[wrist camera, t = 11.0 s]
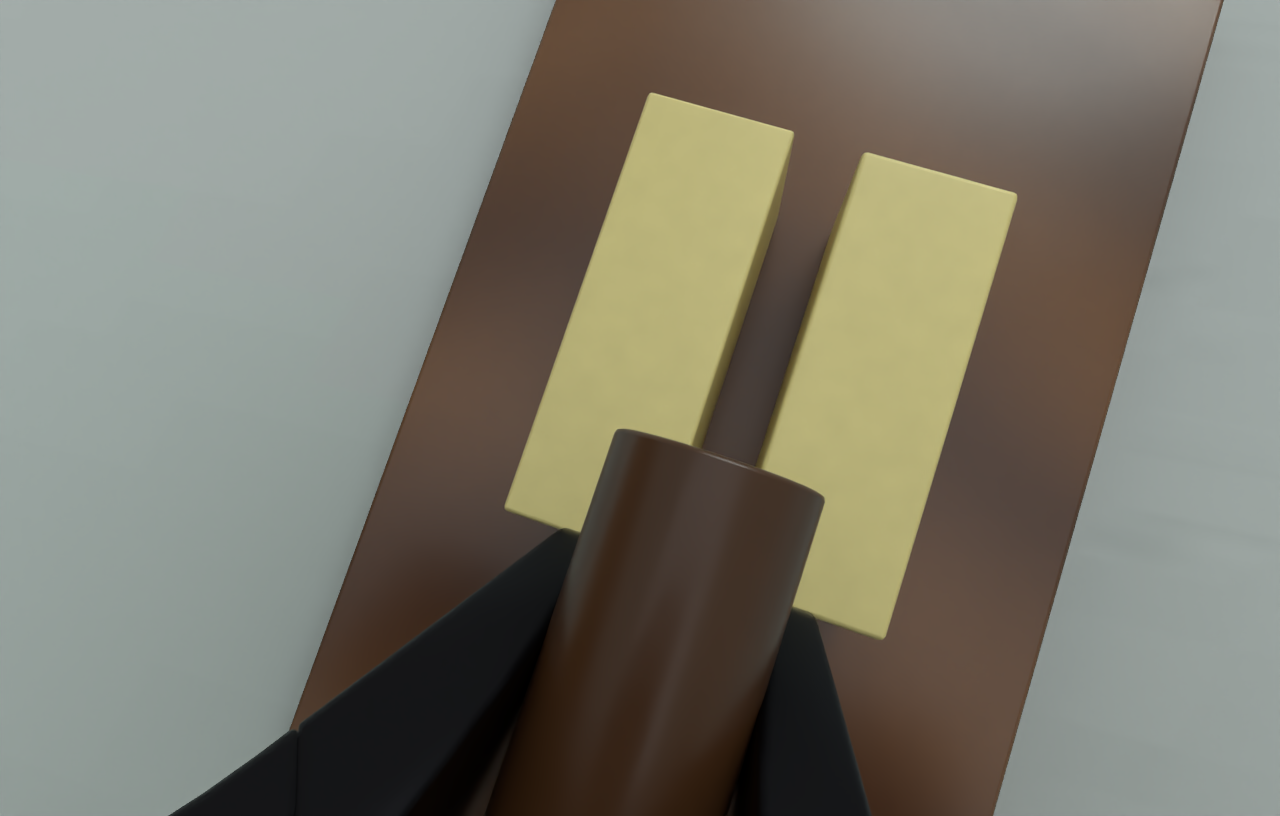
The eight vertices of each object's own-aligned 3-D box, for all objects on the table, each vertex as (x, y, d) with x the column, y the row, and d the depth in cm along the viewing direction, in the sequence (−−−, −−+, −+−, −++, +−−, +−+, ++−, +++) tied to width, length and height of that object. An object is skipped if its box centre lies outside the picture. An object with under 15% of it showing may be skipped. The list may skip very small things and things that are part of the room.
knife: (673, 820, 14) (616, 1216, 6) (561, 777, 14) (366, 1105, 6) (773, 507, 15) (842, 493, 7) (663, 470, 15) (601, 415, 7)
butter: (845, 614, 15) (885, 642, 11) (550, 511, 15) (502, 509, 12) (952, 265, 15) (1020, 191, 12) (663, 182, 16) (648, 89, 13)
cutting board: (902, 1017, 15) (922, 1071, 14) (301, 774, 17) (261, 800, 15) (1191, 10, 17) (1236, -38, 16) (628, -126, 19) (620, -182, 17)
